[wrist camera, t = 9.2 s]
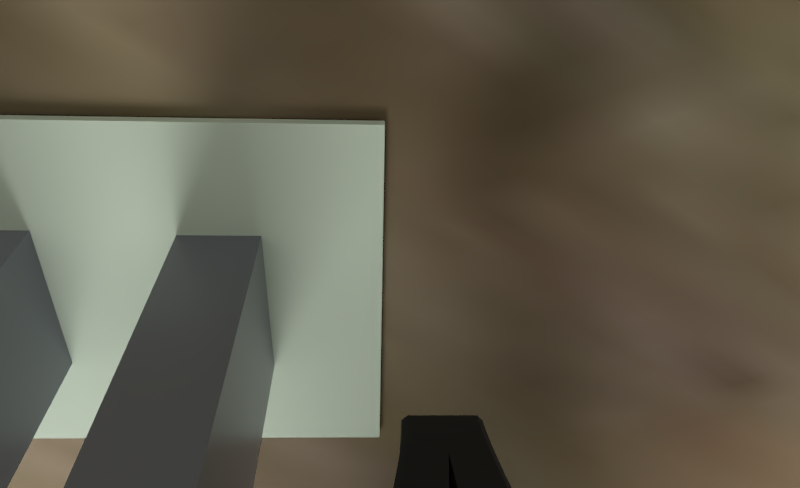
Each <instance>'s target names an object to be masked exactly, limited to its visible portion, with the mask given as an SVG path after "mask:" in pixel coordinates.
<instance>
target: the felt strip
mask: <svg viewBox="0 0 800 488" xmlns="http://www.w3.org/2000/svg"><path fill="white" fill-rule="evenodd" d="M384 147H385V121H370V120H303V119H235V118H168V117H100V116H33V115H0V230H26V231H30V233H31V236H32V240H33V243H34V246H35V249H36V252H37V255H38V258H39V261H40V264H41V267H42V270H43V274H44V277H45V280H46V283H47V286H48V289H49V292H50V295H51V298H52V301H53V304H54V307H55V311H56V314H57V317H58V320H59V323H60V326H61V329H62V332H63V335H64V338H65V341H66V345H67V348H68V351H69V354H70V357H71V360H72V365H71V367H70V369H69V371H68V373H67V375H66V376H65V378H64V380H63V382H62V384H61V386H60V388H59V390H58V392H57V394H56V395H55V397H54V399H53V401H52V403H51V405H50V407H49V409H48V411H47V413H46V414H45V416H44V418H43V420H42V422H41V424H40V426H39V428H38V430H37V432H36V433H35V435H34V437H33V438H86V436H87V434H88V432H89V430H90V427H91V425H92V423H93V421H94V418H95V416H96V414H97V412H98V409H99V407H100V405H101V403H102V400H103V398H104V396H105V394H106V392H107V389H108V387H109V385H110V383H111V380H112V378H113V376H114V374H115V371H116V369H117V367H118V365H119V362H120V360H121V358H122V356H123V353H124V351H125V349H126V347H127V344H128V342H129V340H130V338H131V335H132V333H133V331H134V329H135V326H136V324H137V322H138V320H139V317H140V315H141V313H142V311H143V308H144V306H145V304H146V302H147V299H148V297H149V295H150V293H151V291H152V288H153V286H154V284H155V282H156V279H157V277H158V275H159V273H160V270H161V268H162V266H163V264H164V261H165V259H166V257H167V255H168V252H169V250H170V248H171V246H172V243H173V241H174V239H175V237H176V235H213V236H261V238H262V247H263V257H264V267H265V277H266V287H267V297H268V307H269V317H270V327H271V337H272V347H273V357H274V371H273V377H272V383H271V388H270V394H269V400H268V405H267V411H266V417H265V422H264V428H263V434H262V438H288V437H380V380H381V322H382V263H383V205H384Z"/></svg>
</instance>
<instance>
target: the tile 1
mask: <svg viewBox="0 0 800 488" xmlns="http://www.w3.org/2000/svg"><path fill="white" fill-rule="evenodd" d="M273 371H274V357H273V347H272V337H271V327H270V317H269V307H268V297H267V287H266V277H265V267H264V257H263V247H262V238H261V236H213V235H176V237H175V239H174V241H173V243H172V246H171V248H170V250H169V252H168V255H167V257H166V259H165V261H164V264H163V266H162V268H161V270H160V273H159V275H158V277H157V279H156V282H155V284H154V286H153V288H152V291H151V293H150V295H149V297H148V299H147V302H146V304H145V306H144V308H143V311H142V313H141V315H140V317H139V320H138V322H137V324H136V326H135V329H134V331H133V333H132V335H131V338H130V340H129V342H128V344H127V347H126V349H125V351H124V353H123V356H122V358H121V360H120V362H119V365H118V367H117V369H116V371H115V374H114V376H113V378H112V380H111V383H110V385H109V387H108V389H107V392H106V394H105V396H104V398H103V400H102V403H101V405H100V407H99V409H98V412H97V414H96V416H95V418H94V421H93V423H92V425H91V427H90V430H89V432H88V434H87V436H86V439H85V441H84V443H83V445H82V448H81V450H80V452H79V454H78V457H77V459H76V461H75V463H74V466H73V468H72V470H71V472H70V475H69V477H68V479H67V481H66V484H65V486H64V488H253V485H254V479H255V473H256V468H257V462H258V456H259V451H260V445H261V439H262V434H263V428H264V422H265V417H266V411H267V405H268V400H269V394H270V388H271V383H272V377H273Z"/></svg>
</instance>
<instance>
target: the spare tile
mask: <svg viewBox="0 0 800 488" xmlns="http://www.w3.org/2000/svg"><path fill="white" fill-rule="evenodd" d="M71 365H72V360H71V357H70V354H69V351H68V348H67V345H66V341H65V338H64V335H63V332H62V329H61V326H60V323H59V320H58V317H57V314H56V311H55V307H54V304H53V301H52V298H51V295H50V292H49V289H48V286H47V283H46V280H45V277H44V274H43V270H42V267H41V264H40V261H39V258H38V255H37V252H36V249H35V246H34V243H33V240H32V236H31V233H30V231H26V230H0V488H7V487H8V485H9V483H10V481H11V479H12V477H13V475H14V473H15V471H16V470H17V468H18V466H19V464H20V462H21V460H22V458H23V456H24V454H25V452H26V451H27V449H28V447H29V445H30V443H31V441H32V439H33V437H34V435H35V433H36V432H37V430H38V428H39V426H40V424H41V422H42V420H43V418H44V416H45V414H46V413H47V411H48V409H49V407H50V405H51V403H52V401H53V399H54V397H55V395H56V394H57V392H58V390H59V388H60V386H61V384H62V382H63V380H64V378H65V376H66V375H67V373H68V371H69V369H70V367H71Z"/></svg>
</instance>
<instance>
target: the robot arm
mask: <svg viewBox="0 0 800 488" xmlns="http://www.w3.org/2000/svg"><path fill="white" fill-rule="evenodd" d="M393 488H511V486H510V484H509V482H508V480H507V478H506V476H505V474H504V472H503V469H502V467H501V465H500V463H499V461H498V459H497V456H496V454H495V452H494V450H493V447H492V445H491V442H490V440H489V437H488V435H487V432H486V430H485V427H484V424H483V421H482V420H481V419H480V418H479V417H478V416H407V417H405V418H404V419H402V422H401V443H400V456H399V462H398V468H397V473H396V478H395V483H394V487H393Z"/></svg>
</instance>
